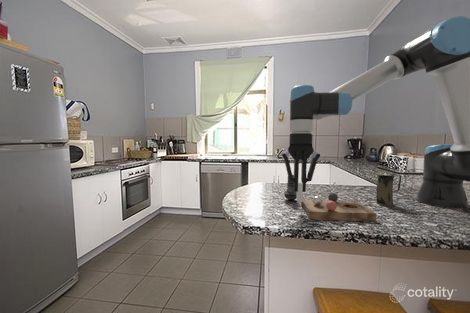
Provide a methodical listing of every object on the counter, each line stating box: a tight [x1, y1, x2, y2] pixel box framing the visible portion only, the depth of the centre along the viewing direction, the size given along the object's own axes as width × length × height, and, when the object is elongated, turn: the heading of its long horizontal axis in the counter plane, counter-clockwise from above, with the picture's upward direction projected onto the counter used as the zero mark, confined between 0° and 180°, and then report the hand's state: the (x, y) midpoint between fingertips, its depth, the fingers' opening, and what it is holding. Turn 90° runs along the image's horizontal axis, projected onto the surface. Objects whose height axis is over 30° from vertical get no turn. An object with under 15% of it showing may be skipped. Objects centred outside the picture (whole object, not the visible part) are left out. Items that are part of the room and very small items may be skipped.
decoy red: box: [326, 201, 337, 211], centre depth 72 cm, size 3×3×3 cm
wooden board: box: [300, 199, 378, 222], centre depth 77 cm, size 20×14×2 cm
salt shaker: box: [283, 174, 299, 204], centre depth 91 cm, size 6×6×12 cm
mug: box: [375, 173, 402, 207], centre depth 87 cm, size 8×6×12 cm
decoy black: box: [328, 192, 339, 202], centre depth 82 cm, size 3×3×3 cm
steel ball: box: [311, 195, 323, 206], centre depth 78 cm, size 3×3×3 cm
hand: (299, 200), depth 78 cm, fingers closed
